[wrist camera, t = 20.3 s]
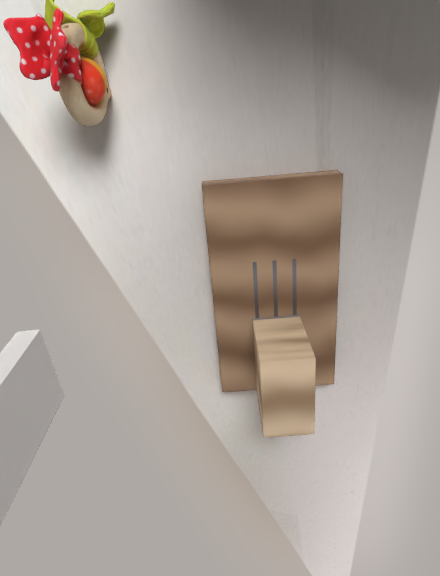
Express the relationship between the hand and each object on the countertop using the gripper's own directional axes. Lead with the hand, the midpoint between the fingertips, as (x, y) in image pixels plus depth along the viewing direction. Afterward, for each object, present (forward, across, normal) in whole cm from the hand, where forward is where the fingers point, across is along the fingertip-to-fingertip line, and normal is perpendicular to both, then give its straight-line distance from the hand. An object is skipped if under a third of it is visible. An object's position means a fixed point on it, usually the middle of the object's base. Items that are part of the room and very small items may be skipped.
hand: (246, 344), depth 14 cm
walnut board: (+30, +3, -13) cm, 33 cm away
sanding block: (+27, +3, -20) cm, 34 cm away
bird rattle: (+30, -11, +10) cm, 34 cm away
